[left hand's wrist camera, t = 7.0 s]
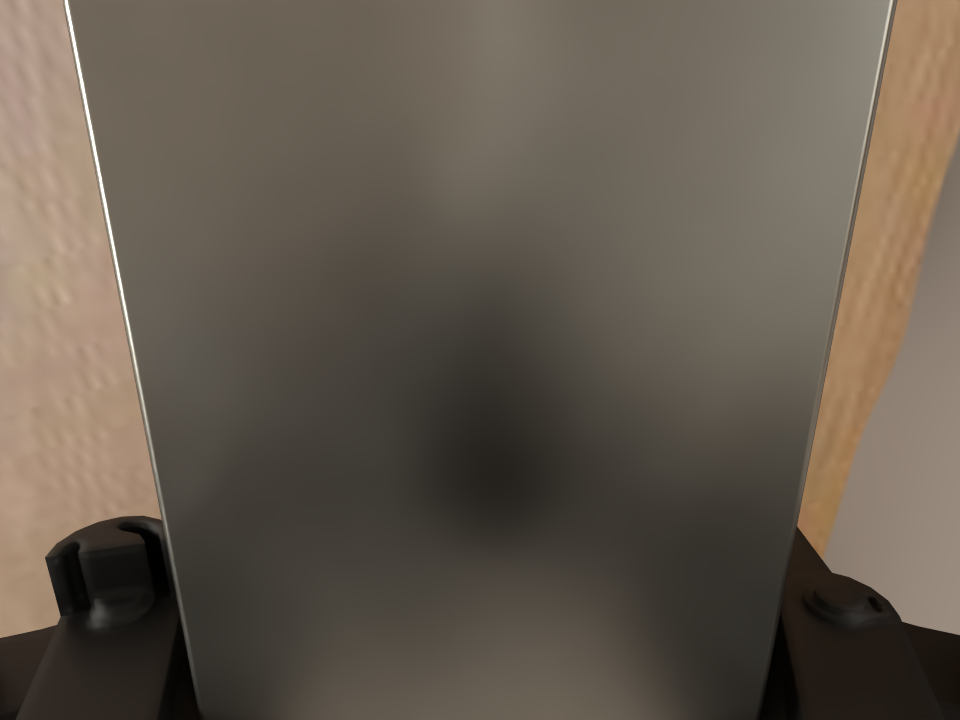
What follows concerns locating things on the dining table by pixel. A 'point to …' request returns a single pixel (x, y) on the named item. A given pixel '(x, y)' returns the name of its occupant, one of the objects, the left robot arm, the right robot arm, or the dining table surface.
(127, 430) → the dining table surface
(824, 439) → the dining table surface
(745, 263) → the bar
